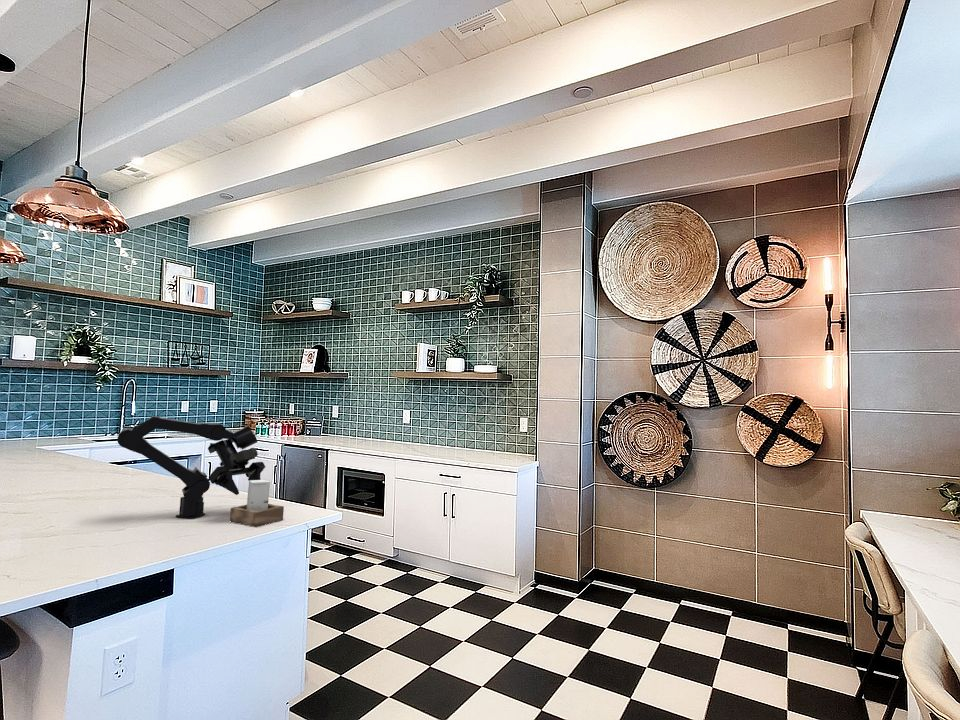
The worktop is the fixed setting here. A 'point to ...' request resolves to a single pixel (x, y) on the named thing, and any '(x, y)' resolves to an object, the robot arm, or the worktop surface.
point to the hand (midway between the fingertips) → (249, 492)
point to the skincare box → (258, 495)
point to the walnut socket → (256, 515)
